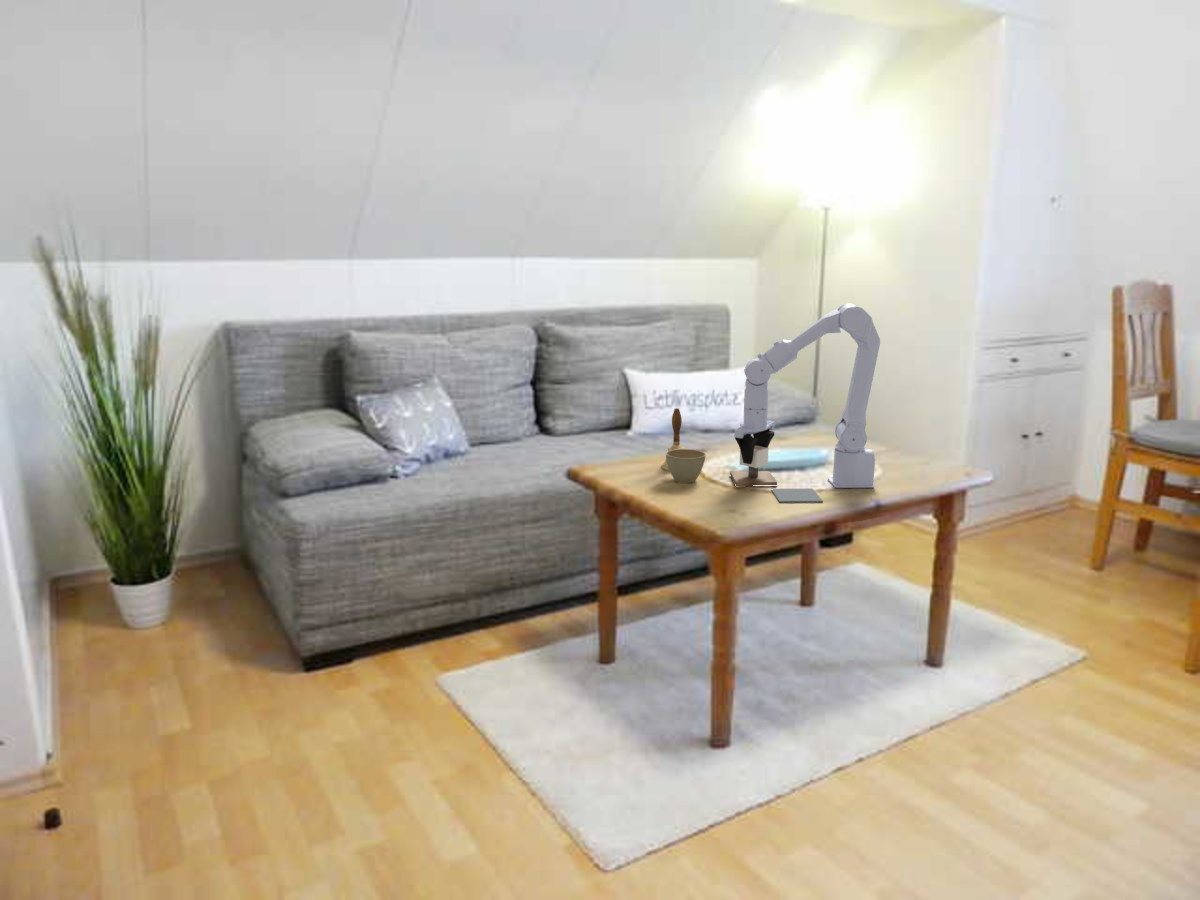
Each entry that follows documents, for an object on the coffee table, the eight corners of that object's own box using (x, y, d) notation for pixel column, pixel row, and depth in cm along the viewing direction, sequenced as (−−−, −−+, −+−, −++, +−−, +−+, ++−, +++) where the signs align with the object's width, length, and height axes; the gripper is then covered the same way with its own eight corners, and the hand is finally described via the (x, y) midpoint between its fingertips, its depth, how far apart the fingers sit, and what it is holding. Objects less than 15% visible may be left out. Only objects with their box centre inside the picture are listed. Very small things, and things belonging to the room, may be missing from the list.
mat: (812, 490, 208) (812, 488, 208) (822, 502, 198) (822, 500, 198) (771, 490, 208) (771, 488, 208) (779, 502, 198) (779, 501, 198)
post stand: (768, 475, 221) (769, 453, 219) (776, 486, 211) (777, 463, 210) (730, 475, 221) (730, 453, 219) (736, 487, 211) (737, 463, 210)
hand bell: (654, 468, 229) (655, 409, 225) (672, 461, 235) (673, 404, 231) (680, 473, 224) (681, 413, 220) (698, 466, 230) (699, 408, 226)
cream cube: (767, 464, 215) (768, 446, 214) (756, 468, 211) (757, 450, 210) (751, 460, 218) (751, 443, 217) (739, 464, 215) (740, 446, 214)
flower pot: (703, 487, 211) (703, 459, 209) (662, 485, 213) (663, 457, 211) (706, 476, 221) (707, 449, 219) (667, 474, 223) (668, 447, 221)
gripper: (759, 401, 219) (757, 453, 222) (725, 410, 209) (723, 463, 212) (782, 405, 214) (780, 457, 218) (748, 414, 204) (747, 468, 208)
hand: (753, 461), depth 215 cm, fingers closed on cream cube, 5 cm apart
